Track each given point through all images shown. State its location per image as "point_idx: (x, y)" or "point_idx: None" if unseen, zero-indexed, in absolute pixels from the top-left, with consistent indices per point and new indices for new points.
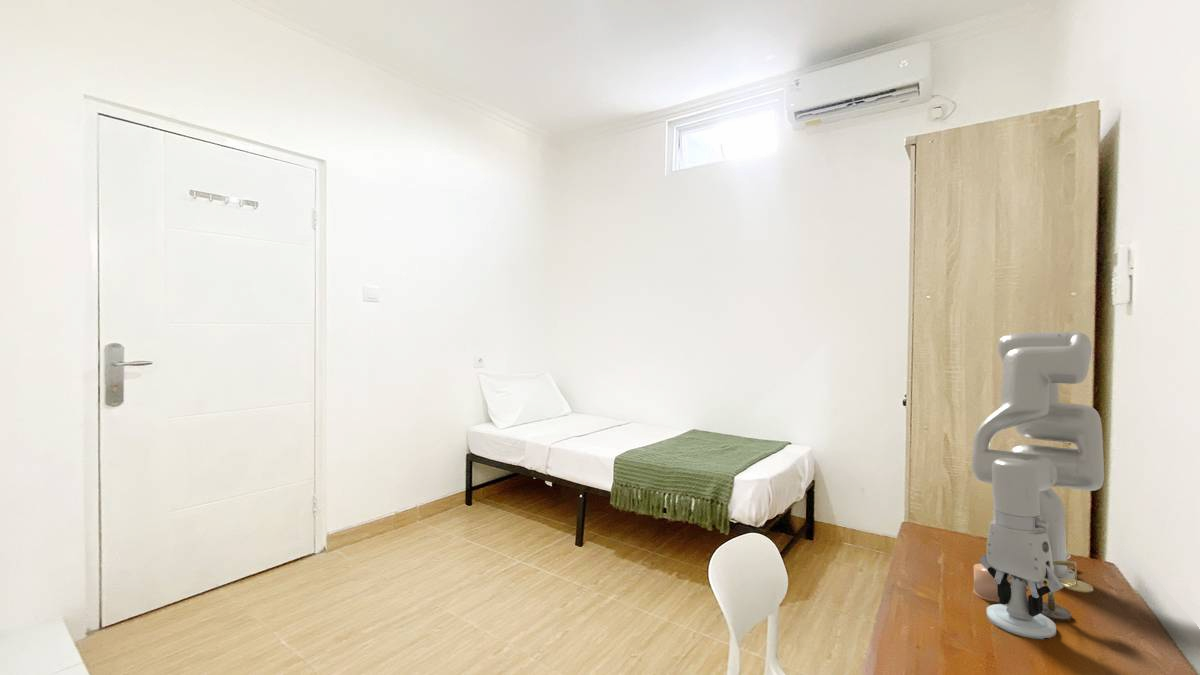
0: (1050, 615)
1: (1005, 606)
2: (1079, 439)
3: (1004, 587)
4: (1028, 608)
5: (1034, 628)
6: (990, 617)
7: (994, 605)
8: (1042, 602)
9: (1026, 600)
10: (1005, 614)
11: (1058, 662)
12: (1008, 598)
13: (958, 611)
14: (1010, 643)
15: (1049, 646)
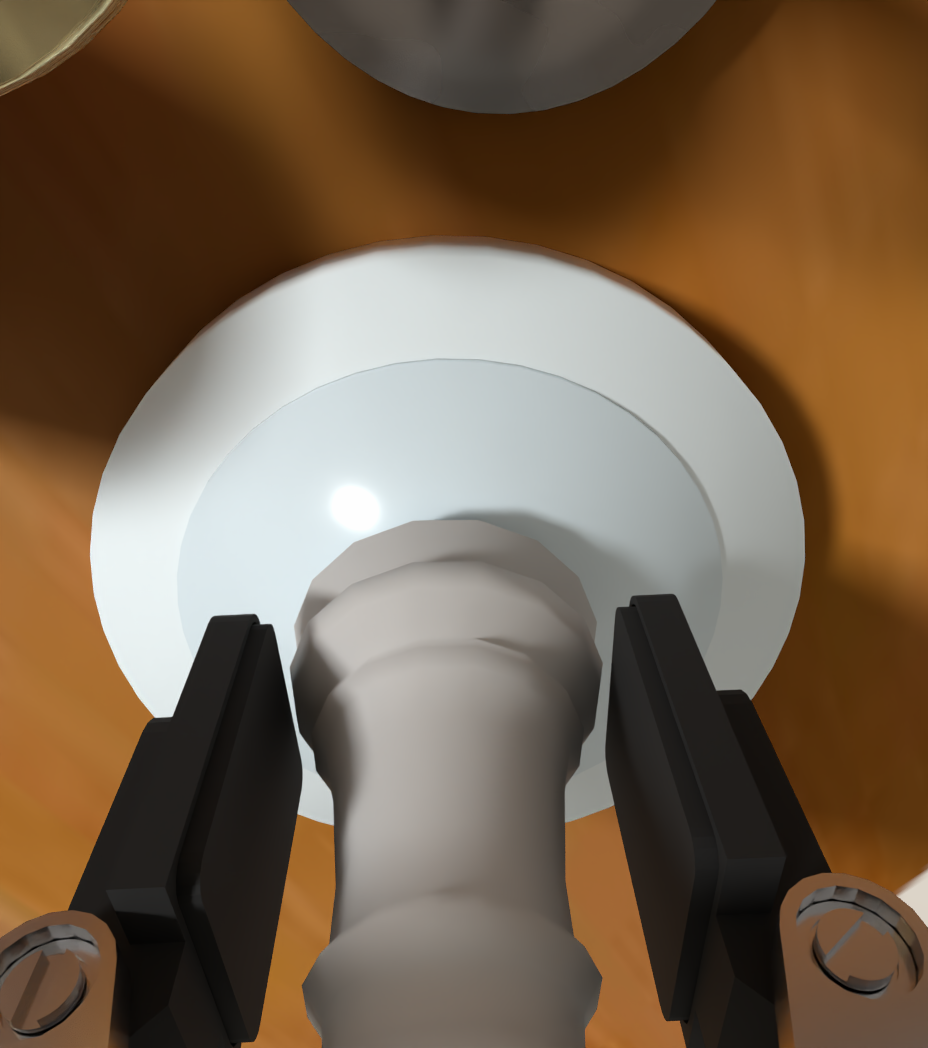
0: (595, 88)
1: (192, 519)
2: None
3: (251, 1005)
4: (621, 834)
5: None
6: None
7: (116, 588)
8: (792, 795)
9: (564, 828)
10: None
11: (902, 858)
12: (275, 734)
13: (54, 823)
14: (589, 898)
15: (796, 726)
